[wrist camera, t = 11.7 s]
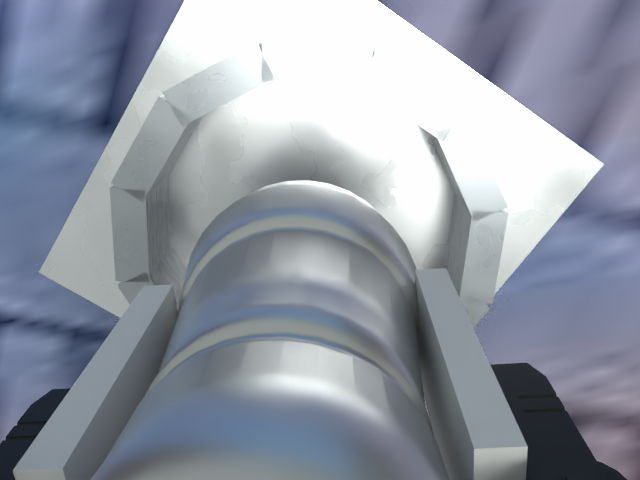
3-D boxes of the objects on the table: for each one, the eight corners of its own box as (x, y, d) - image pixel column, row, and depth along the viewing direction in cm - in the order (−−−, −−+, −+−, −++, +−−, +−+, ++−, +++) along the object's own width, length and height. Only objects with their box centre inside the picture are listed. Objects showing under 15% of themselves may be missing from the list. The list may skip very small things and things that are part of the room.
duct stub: (360, 438, 28) (364, 502, 24) (49, 263, 25) (0, 305, 22) (593, 158, 23) (642, 184, 20) (242, -94, 21) (222, -120, 17)
